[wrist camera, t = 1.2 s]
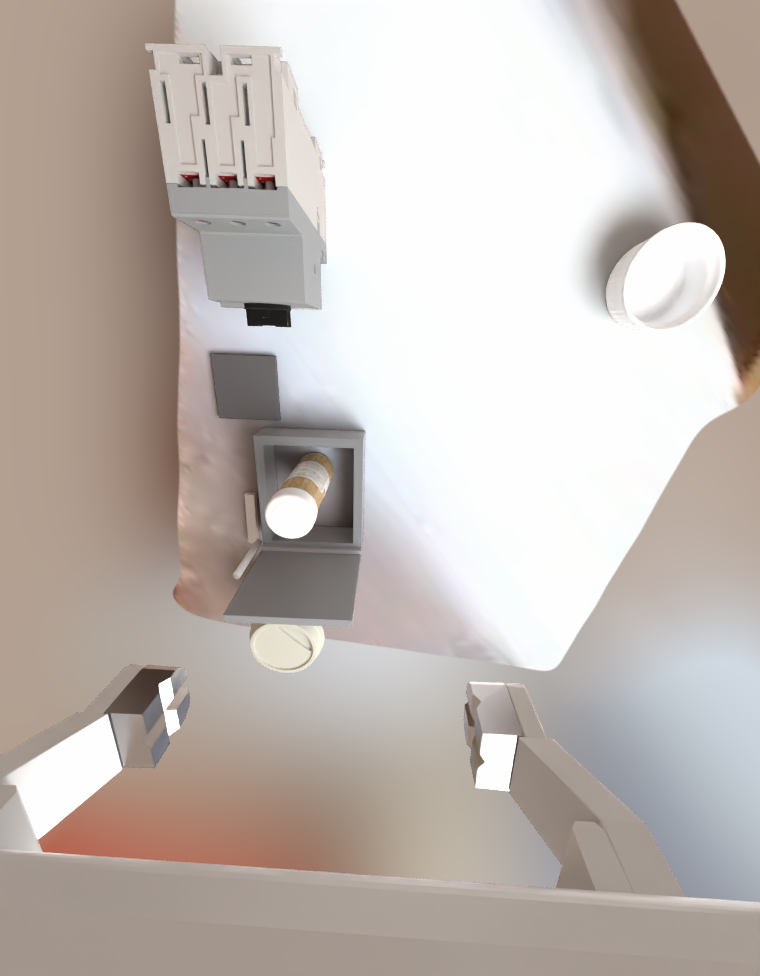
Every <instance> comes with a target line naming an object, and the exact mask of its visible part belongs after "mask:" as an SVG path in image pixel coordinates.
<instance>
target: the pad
mask: <svg viewBox="0 0 760 976" xmlns="http://www.w3.org/2000/svg"><path fill="white" fill-rule="evenodd" d="M211 361H212V368H213V376H214V384H215V391H216V399H217V406H218V414H219V418H228V419H254V420H280V419H281V418H280V404H279V389H278V375H277V360H276V356H257V355H230V354H211Z"/></svg>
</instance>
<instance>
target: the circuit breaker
mask: <svg viewBox="0 0 760 976" xmlns="http://www.w3.org/2000/svg"><path fill="white" fill-rule="evenodd" d="M145 48H146V50H147V51H148V52H149V54H153V55H154V62H155V68H156V70H149V73H150V80H151V87H152V93H153V100H154V106H155V113H156V119H157V126H158V133H159V139H160V146H161V152H162V159H163V165H164V172H165V178H166V183H167V184H166V185H167V191H168V198H169V204H170V211H171V215H172V216H173V217H174V218H176V219H178V220H179V221H181V222H183V223H185V224H186V225H188V226H190V227H192V228H194V229H195V230H197V231H199V233H200V239H201V247H202V254H203V262H204V269H205V277H206V284H207V291H208V299H209V300H212V301H217V302H220V303H221V307H227V308H244V309H246V313H247V323H248V326H262V325H270V326H276V327H291V318H290V311H291V309H315V310H321V309H322V306H321V266H320V264H326V263H327V258H326V209H325V179H324V177H323V174H322V168H325V162H324V160H322V154H321V151H320V148H319V146H318V143H317V140H316V137H310V135H309V133H308V130H307V128H306V125H305V123H304V120H303V118H302V115H301V112H300V110H299V107H298V88H297V85H296V83H295V80H294V77H293V74H292V72H291V69H290V66H289V64H288V62H283V61H280V59H279V57H282V49H281V47H266V46H229V45H220V51H221V61H222V62H218V61H217V59H216V58H215V57H214V56H213V54H212V53H211V52H210V51H209V49H208V48H207V47H206V46H205V45H191V44H154V43H145ZM189 57H199V58H200V63H193V61H192V60H191V59H190V58H189ZM239 58H251V60H252V65H250V64H242V63H241V61H240V60H239Z"/></svg>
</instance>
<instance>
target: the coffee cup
mask: <svg viewBox="0 0 760 976" xmlns="http://www.w3.org/2000/svg"><path fill="white" fill-rule="evenodd" d="M323 644H324V631H323V626H307V625H284V624H261V623H252V625H251V630H250V648H251V651H252V654H253V655H254V657H255V659H256V660H257V661H258V662H259V663H260V664H262V665H263V666H265V667H267V668H268V669H271V670H274V671H277V672H283V673H291V672H297V671H300V670H303V669H305V668H307V667H308V666H309V665H310V664H311V663H312V662H313V661H314V659H315V658H316V657H317V656H318V654H319V653H320V651H321V649H322V647H323Z"/></svg>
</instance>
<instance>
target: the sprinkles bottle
mask: <svg viewBox="0 0 760 976" xmlns="http://www.w3.org/2000/svg"><path fill="white" fill-rule="evenodd" d="M333 472H334V470H333V466H332V463H331V461H330V460H329V459H328V458H327V457H326V456H324V455H322V454H320V453H309V454H307V455H305V456H304V457H302V458H301V460H300V461H299V463H298V465H297V466H296V467H295V468H294V470H293V471H292V472H291V474H290V475H289V477H288V478H287V479H286V481H285V482H284V483H283V485H282V487H281V488H280V490H279V491H277V492H276V493H275V494H274V495H273V496H272V498H271V499H270V501H269V502H268V504H267V506H266V509H265V519H266V522H267V524H268V526H269V528H270V529H271V530H272V531H273V532H274V533H276V534H277V535H279V536H281V537H284V538H290V539H293V538H299V537H302V536H304V535H306V534H307V533H308V532H309V531H310V530H311V529H312V527H313V525H314V523H315V520H316V518H317V514H318V509H319V506H320V504H321V502H322V499H323V497H324V496H325V493H326V491H327V488H328V486H329V482H330V481H331V479H332V477H333Z"/></svg>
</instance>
